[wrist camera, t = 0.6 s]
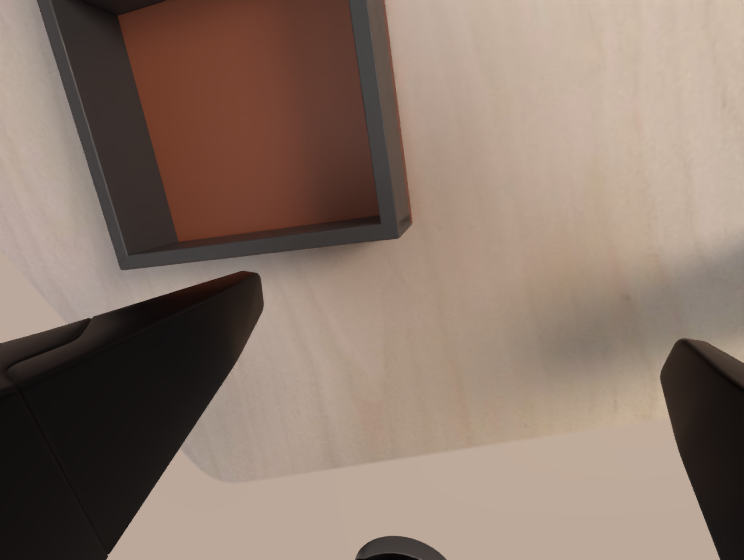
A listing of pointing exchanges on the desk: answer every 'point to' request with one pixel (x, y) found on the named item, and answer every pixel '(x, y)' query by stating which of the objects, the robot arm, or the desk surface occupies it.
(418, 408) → the desk surface
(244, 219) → the toy kitchen
